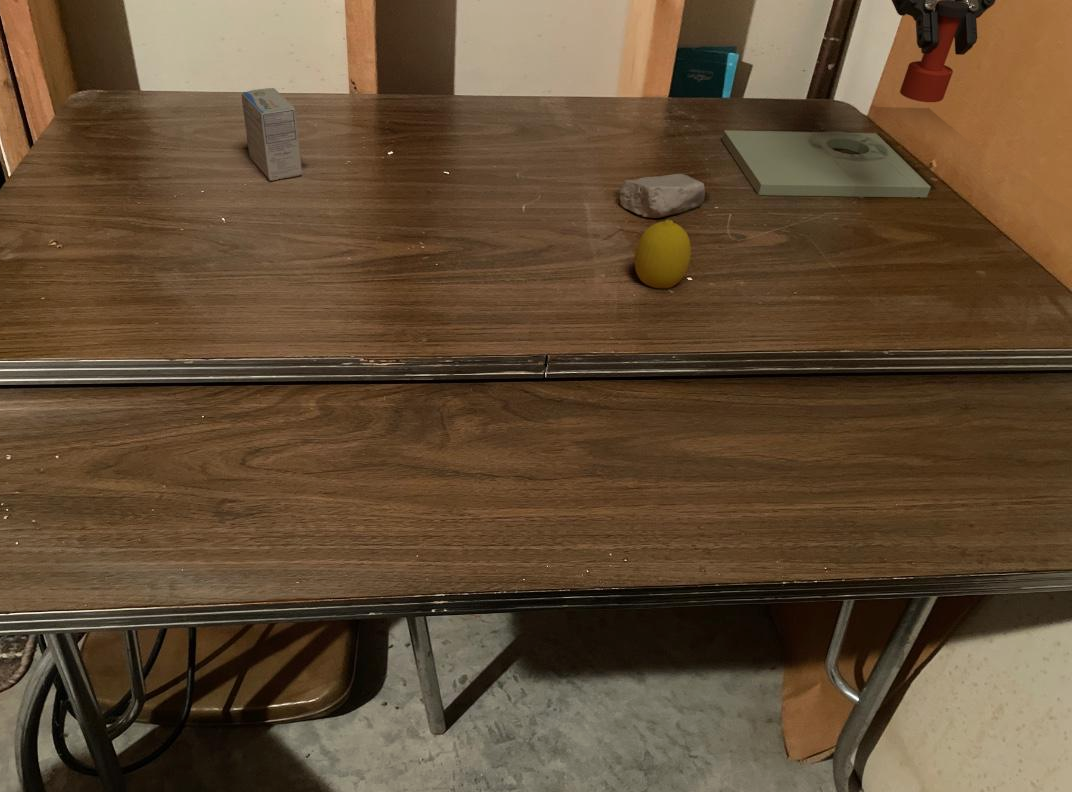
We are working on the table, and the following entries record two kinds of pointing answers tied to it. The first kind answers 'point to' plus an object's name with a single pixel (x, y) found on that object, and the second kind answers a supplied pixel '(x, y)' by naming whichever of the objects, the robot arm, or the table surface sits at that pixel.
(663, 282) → the lemon
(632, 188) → the grey chipped rock
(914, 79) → the stopper
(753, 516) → the table surface
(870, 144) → the drain plate
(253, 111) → the medicine box
